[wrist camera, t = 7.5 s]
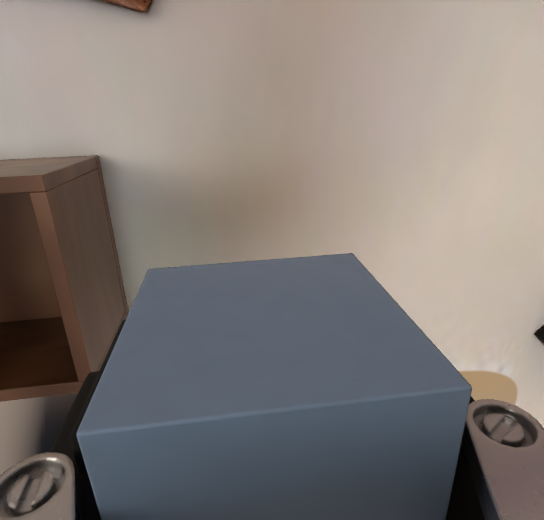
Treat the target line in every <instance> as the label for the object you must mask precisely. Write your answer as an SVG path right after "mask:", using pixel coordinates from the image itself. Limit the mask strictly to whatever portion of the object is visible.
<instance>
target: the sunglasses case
mask: <svg viewBox="0 0 544 520" xmlns="http://www.w3.org/2000/svg"><path fill="white" fill-rule="evenodd" d="M103 1H106V2H109V3H112V4H115V5H119V6H122V7H125V8H129V9H132V10H135V11H142V12H146V10H147V9H148V8H149V6H150V5H151V3H152V0H103Z"/></svg>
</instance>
